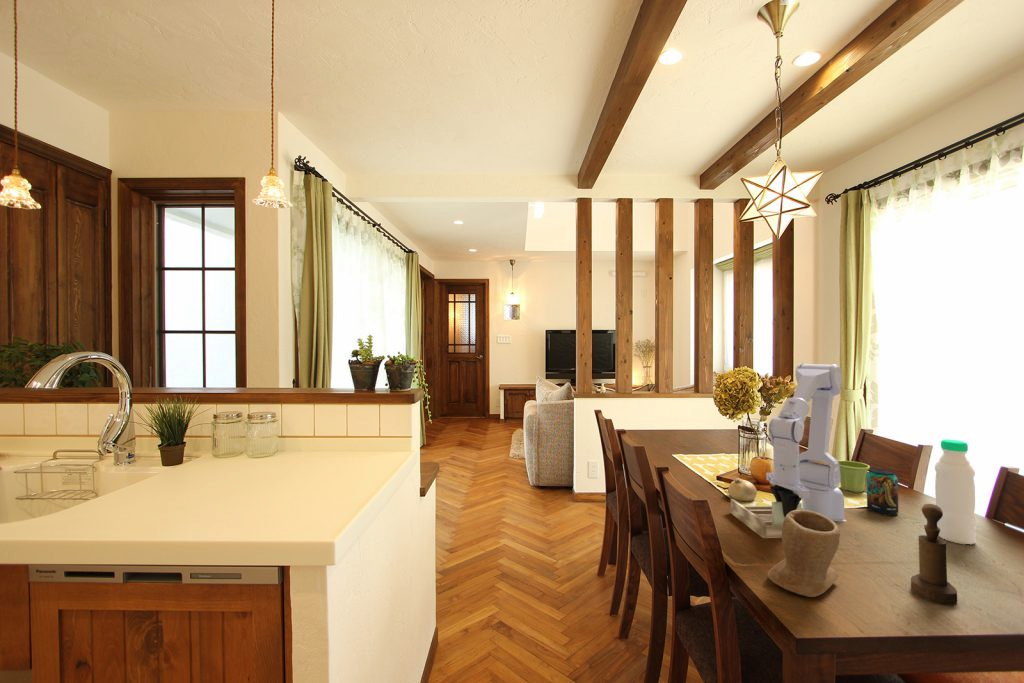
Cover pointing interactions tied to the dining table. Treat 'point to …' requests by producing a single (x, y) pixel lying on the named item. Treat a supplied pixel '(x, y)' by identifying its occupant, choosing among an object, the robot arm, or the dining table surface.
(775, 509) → the panel
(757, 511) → the rack
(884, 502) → the printed food package
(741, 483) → the onion
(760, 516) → the offcut upper
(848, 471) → the plant pot
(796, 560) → the stone cup
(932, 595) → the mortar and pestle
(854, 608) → the dining table surface
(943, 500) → the white bottle
